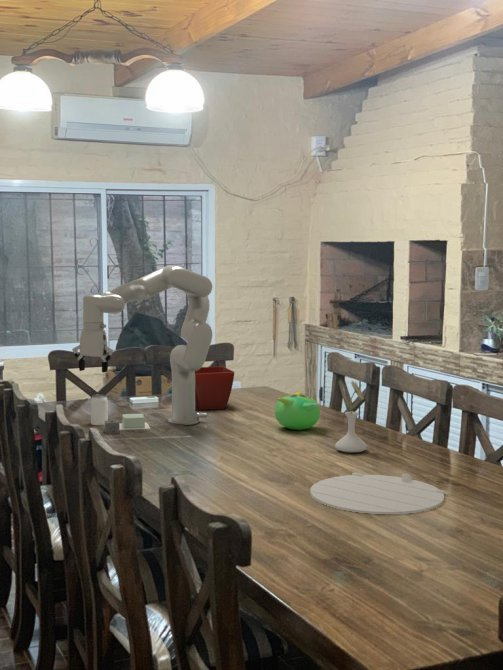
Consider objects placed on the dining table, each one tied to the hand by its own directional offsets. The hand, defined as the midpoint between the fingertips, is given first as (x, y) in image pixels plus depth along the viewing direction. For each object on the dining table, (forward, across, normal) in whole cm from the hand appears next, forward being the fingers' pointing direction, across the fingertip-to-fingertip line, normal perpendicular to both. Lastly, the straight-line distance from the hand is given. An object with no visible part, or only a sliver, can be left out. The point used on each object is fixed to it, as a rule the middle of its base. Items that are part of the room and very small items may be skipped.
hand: (93, 371), depth 348 cm
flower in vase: (+23, -100, -4) cm, 103 cm away
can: (+24, +3, -10) cm, 26 cm away
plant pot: (+23, -24, -62) cm, 71 cm away
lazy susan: (+24, -119, +48) cm, 131 cm away
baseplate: (+23, -12, -11) cm, 28 cm away
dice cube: (+24, -9, +2) cm, 26 cm away
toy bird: (+23, -73, -32) cm, 83 cm away
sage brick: (+22, -12, -11) cm, 28 cm away
